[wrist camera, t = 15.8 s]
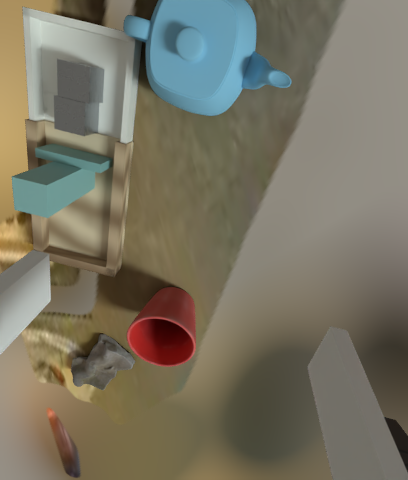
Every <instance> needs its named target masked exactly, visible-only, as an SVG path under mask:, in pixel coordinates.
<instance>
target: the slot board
mask: <svg viewBox="0 0 408 480" xmlns="http://www.w3.org/2000/svg"><path fill="white" fill-rule="evenodd" d="M25 122H26V138H27V152H28V153H27V154H28V169H29V170H32V169H34V168H37V167H40V166H43V165H45V164H48V163H51V162H53V161H49V160H45V159H41V158H37V157H36V155H35V148H37V147H41V146H45V145H49V144H52V143H53V144H57V145H61V146H65V147H69V148H73V149H77V150H81V151H85V152H89V153H93V154H97V155H101V156H105V157H109V158H113V163H112V167H111V168H109V169H107V170H105V171H103V172H102V173H97V172H95V188H94V189H93V190H91V191H90V192H88V193H86V194H85V195H83V196H82V197H80V198H79V199H77V200H75V201H74V202H72V203H71V204H69V205H68V206H66V207H64V208H63V209H61V210H60V211H58V212H57V213H55V214H53V215H52V216H50V217H49V218H45V217H41V216H38V215H34V214H31V215H32V230H33V246H34V250H35V251H39V252H43V253H47V254H49V261H53V262H57V263H61V264H65V265H69V266H73V267H76V268H80V269H84V270H88V271H92V272H96V273H100V274H104V275H108V276H112V277H115V276H116V274H117V273H118V271H119V270H120V269H121V264H122V254H123V244H124V234H125V224H126V214H127V204H128V194H129V184H130V173H131V163H132V153H133V143H134V141H131V142H129V143H127V144H125V143H121V142H120V140H121V139H119V138H115V137H111V136H107V135H103V134H99V133H95V134H91V135H87V136H81V135H77V134H73V133H69V132H65V131H61V130H57V129H55V128H54V122H51V121H47V120H39V121H32V120H29V119H27V120H25Z"/></svg>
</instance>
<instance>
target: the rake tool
mask: <svg viewBox="0 0 408 480" xmlns="http://www.w3.org/2000/svg"><path fill="white" fill-rule="evenodd" d="M35 155H36V157H37V158H41V159H45V160H49V161H53V162H51V163H48V164H45V165H43V166H40V167H37V168H34V169H32V170H29V171H26V172H23V173H20V174H18V175H15V176H12V186H13V196H14V206H15V210H18V211H22V212H26V213H30V214H34V215H38V216H41V217H45V218H49V217H50V216H52V215H53V214H55V213H57V212H58V211H60V210H61V209H63V208H64V207H66V206H68V205H69V204H71V203H72V202H74V201H75V200H77V199H79V198H80V197H82V196H83V195H85V194H86V193H88V192H90V191H91V190H93V189H94V188H95V172H97V173H102V172H103V171H105V170H107V169H109V168H111V167H112V163H113V158H109V157H105V156H101V155H97V154H93V153H89V152H85V151H81V150H77V149H73V148H69V147H65V146H61V145H57V144H53V143H52V144H49V145H45V146H41V147H37V148H35Z"/></svg>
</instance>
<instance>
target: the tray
mask: <svg viewBox="0 0 408 480" xmlns="http://www.w3.org/2000/svg"><path fill="white" fill-rule="evenodd" d="M22 8H23V25H24V41H25V58H26V75H27V92H28V109H29V120H32V121H39V120H47V121H51V122H54V95H58V88H57V59H61V60H67V61H73V62H77V63H81V64H85V65H89V66H94V67H98V68H102V69H104V90H103V103H99V122H98V133H99V134H103V135H107V136H111V137H115V138H119V139H121V140H120V142H121V143H125V144H127V143H129V142H131V141H132V139H133V129H134V119H135V109H136V98H137V88H138V78H139V68H140V57H141V47H142V41H140V40H137V39H135V38H132V37H130V36H128V35H126V34H125V32H124V31H120V30H116V29H112V28H108V27H104V26H100V25H96V24H92V23H88V22H84V21H80V20H75V19H71V18H67V17H63V16H59V15H55V14H51V13H47V12H43V11H38V10H34V9H30V8H26V7H22Z"/></svg>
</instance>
